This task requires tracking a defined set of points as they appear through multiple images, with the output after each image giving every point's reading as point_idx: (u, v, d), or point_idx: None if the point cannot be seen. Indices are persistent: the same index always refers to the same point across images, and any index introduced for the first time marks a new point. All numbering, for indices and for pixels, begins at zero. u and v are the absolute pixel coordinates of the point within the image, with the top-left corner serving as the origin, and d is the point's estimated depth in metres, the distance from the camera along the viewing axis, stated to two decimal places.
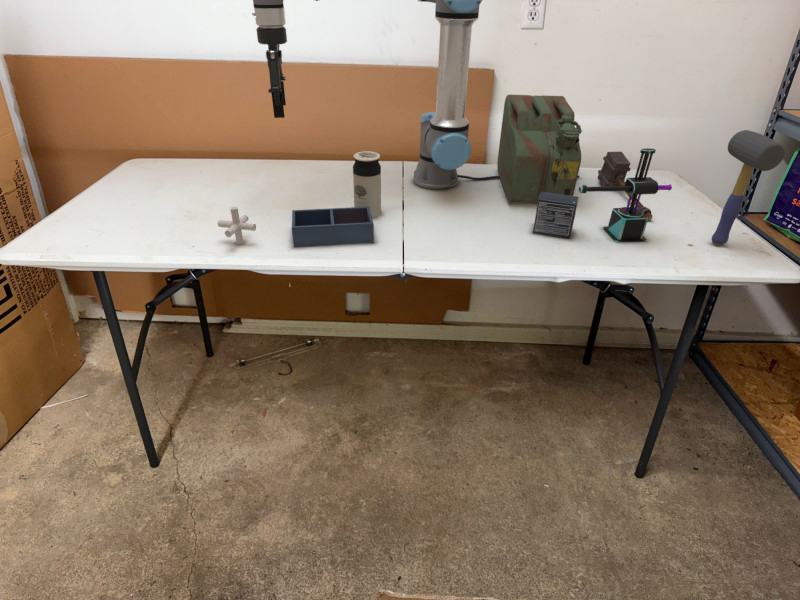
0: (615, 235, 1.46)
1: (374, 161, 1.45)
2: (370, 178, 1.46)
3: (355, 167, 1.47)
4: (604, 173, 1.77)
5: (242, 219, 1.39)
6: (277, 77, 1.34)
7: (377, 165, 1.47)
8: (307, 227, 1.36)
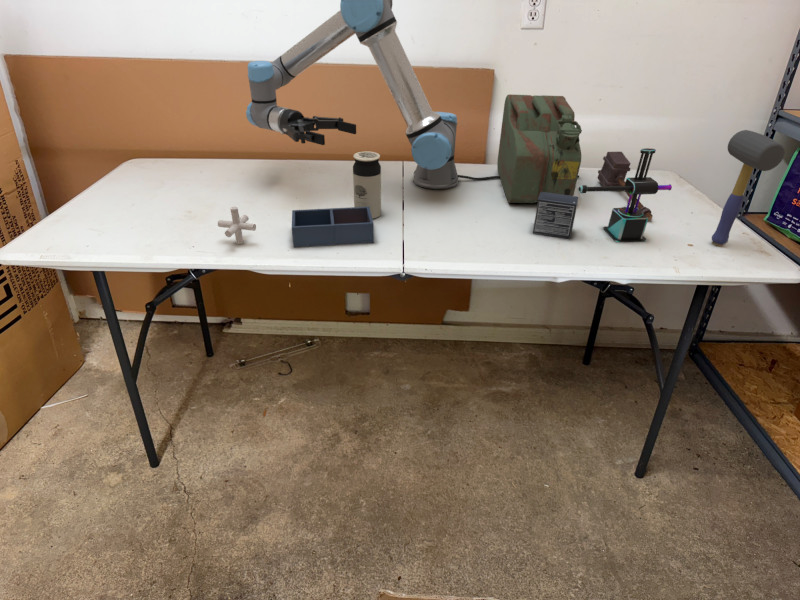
0: (615, 235, 1.46)
1: (374, 161, 1.45)
2: (370, 178, 1.46)
3: (355, 167, 1.47)
4: (604, 173, 1.77)
5: (242, 219, 1.39)
6: (291, 132, 1.48)
7: (377, 165, 1.47)
8: (307, 227, 1.36)
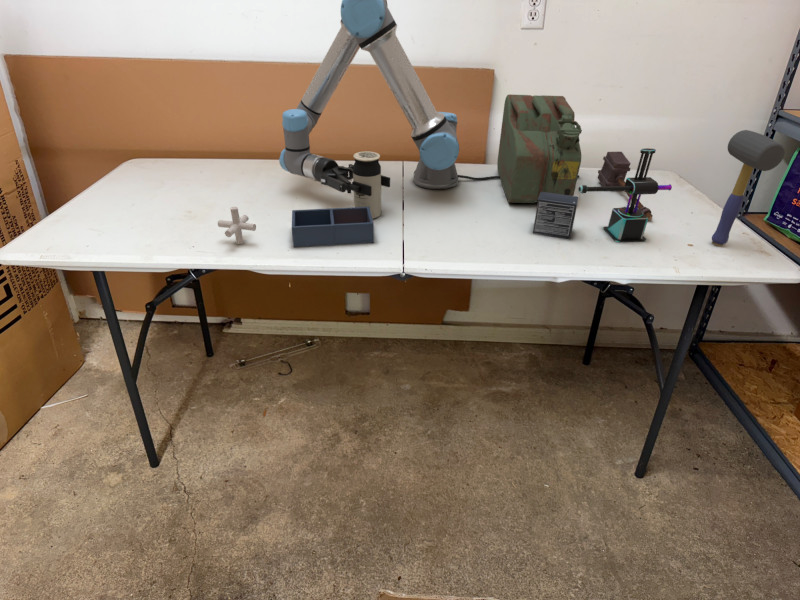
0: (615, 235, 1.46)
1: (374, 161, 1.45)
2: (370, 178, 1.46)
3: (355, 167, 1.47)
4: (604, 173, 1.77)
5: (242, 219, 1.39)
6: (335, 182, 1.49)
7: (377, 165, 1.47)
8: (307, 227, 1.36)
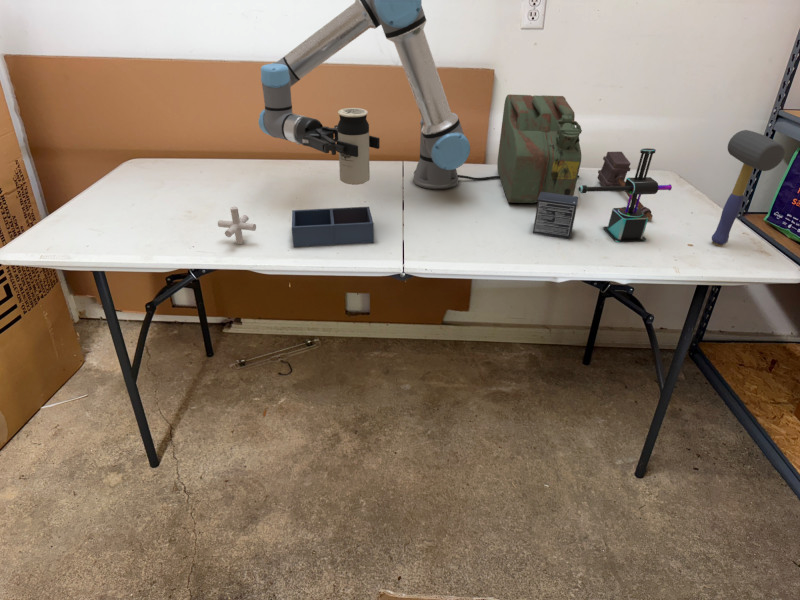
0: (615, 235, 1.46)
1: (361, 117, 1.30)
2: (356, 136, 1.31)
3: (339, 124, 1.31)
4: (604, 173, 1.77)
5: (242, 219, 1.39)
6: (318, 142, 1.33)
7: (364, 122, 1.31)
8: (307, 227, 1.36)
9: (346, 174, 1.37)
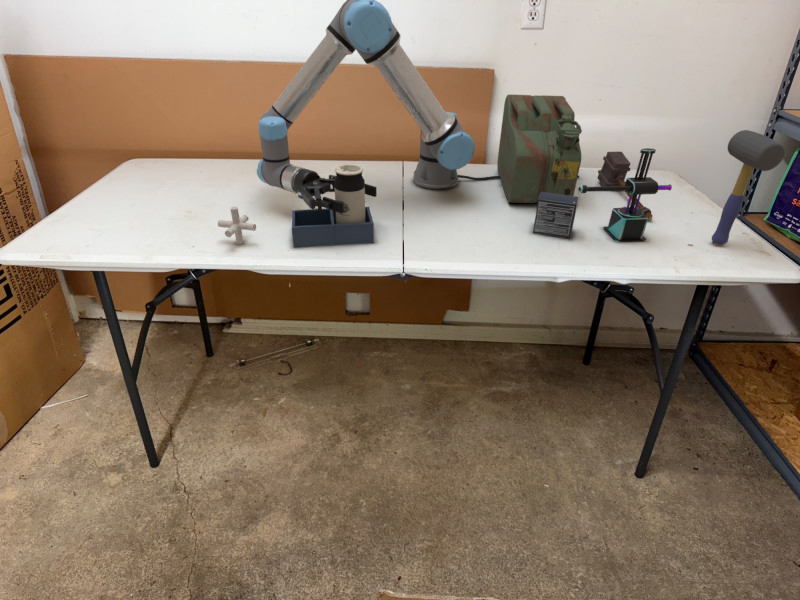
0: (615, 235, 1.46)
1: (357, 175, 1.33)
2: (352, 193, 1.34)
3: (336, 181, 1.35)
4: (604, 173, 1.77)
5: (242, 219, 1.39)
6: (306, 197, 1.36)
7: (360, 179, 1.35)
8: (307, 227, 1.36)
9: None
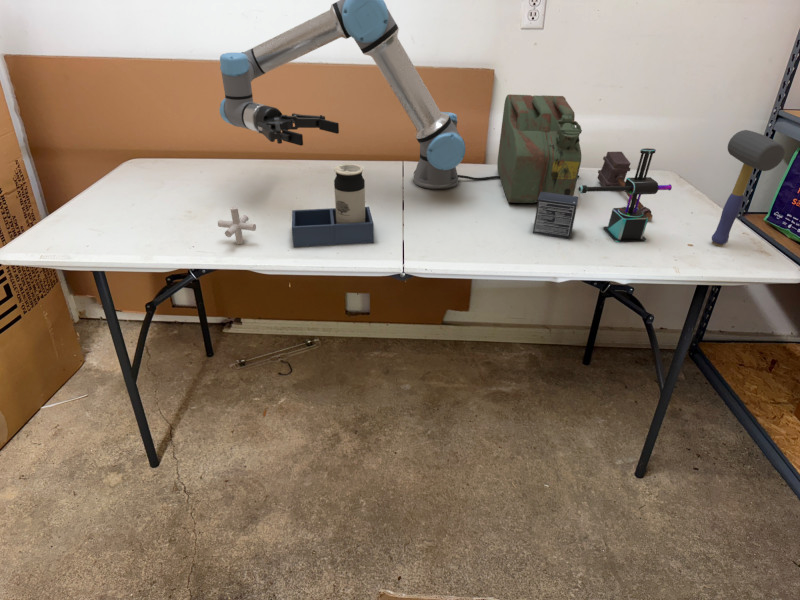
0: (615, 235, 1.46)
1: (357, 175, 1.33)
2: (352, 193, 1.34)
3: (336, 181, 1.35)
4: (604, 173, 1.77)
5: (242, 219, 1.39)
6: (266, 130, 1.34)
7: (360, 179, 1.35)
8: (307, 227, 1.36)
9: None
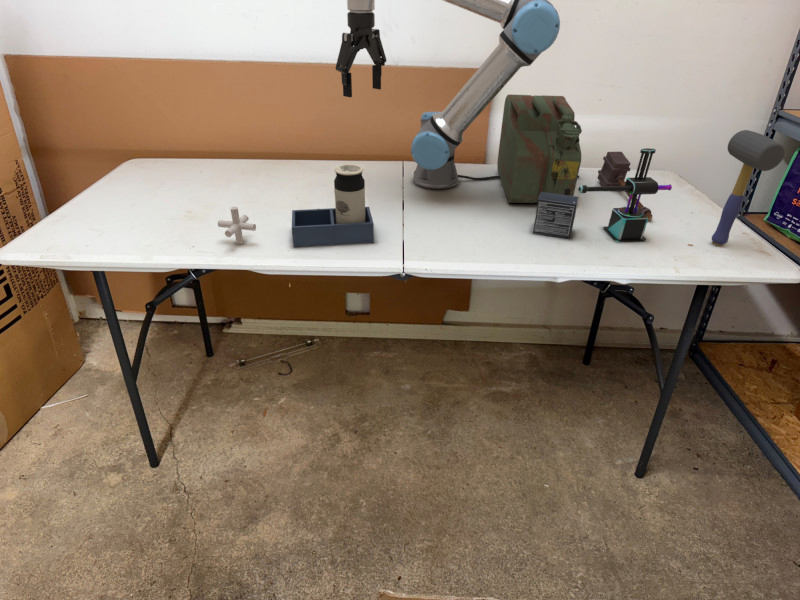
0: (615, 235, 1.46)
1: (357, 175, 1.33)
2: (352, 193, 1.34)
3: (336, 181, 1.35)
4: (604, 173, 1.77)
5: (242, 219, 1.39)
6: (343, 58, 1.43)
7: (360, 179, 1.35)
8: (307, 227, 1.36)
9: None
